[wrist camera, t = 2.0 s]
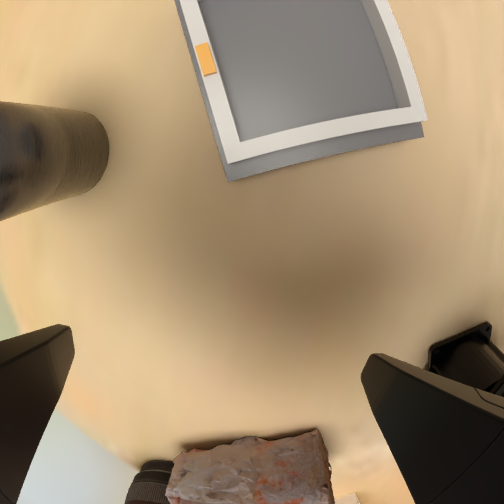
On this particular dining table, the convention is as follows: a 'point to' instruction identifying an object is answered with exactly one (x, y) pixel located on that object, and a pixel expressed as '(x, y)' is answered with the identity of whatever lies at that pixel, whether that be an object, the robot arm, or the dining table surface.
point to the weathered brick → (254, 473)
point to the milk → (347, 499)
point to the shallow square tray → (300, 79)
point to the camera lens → (150, 484)
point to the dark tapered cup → (47, 155)
